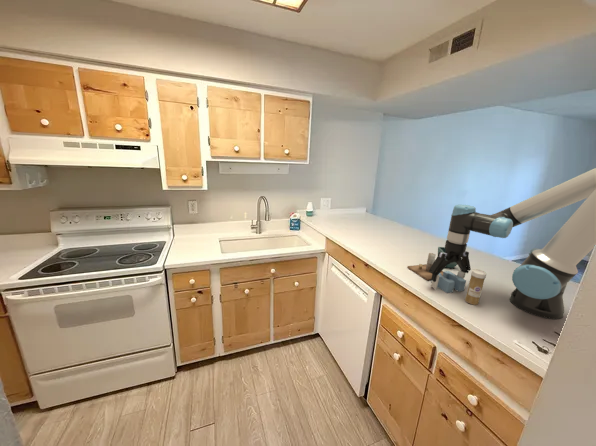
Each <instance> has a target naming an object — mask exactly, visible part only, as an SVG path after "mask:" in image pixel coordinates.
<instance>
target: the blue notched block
mask: <svg viewBox="0 0 596 446" xmlns="http://www.w3.org/2000/svg"><path fill="white" fill-rule="evenodd" d="M443 271H444V270H443ZM438 275H440V277H439V281H438V286H437V289H440V290H441V291H443V292H445V293H446V294H451V293H453V292H454V290H455V291H456V292H465V291H464V290H465V287H466V283H467V279H465V278H464V279H463V278H461V277H459V276H457V274H455V273H453V272H452V271H450V270H447V271H444V272H443V276H442V274H441V273H439V274H438ZM431 282H432V280H431V281H430V283H431Z"/></svg>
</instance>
